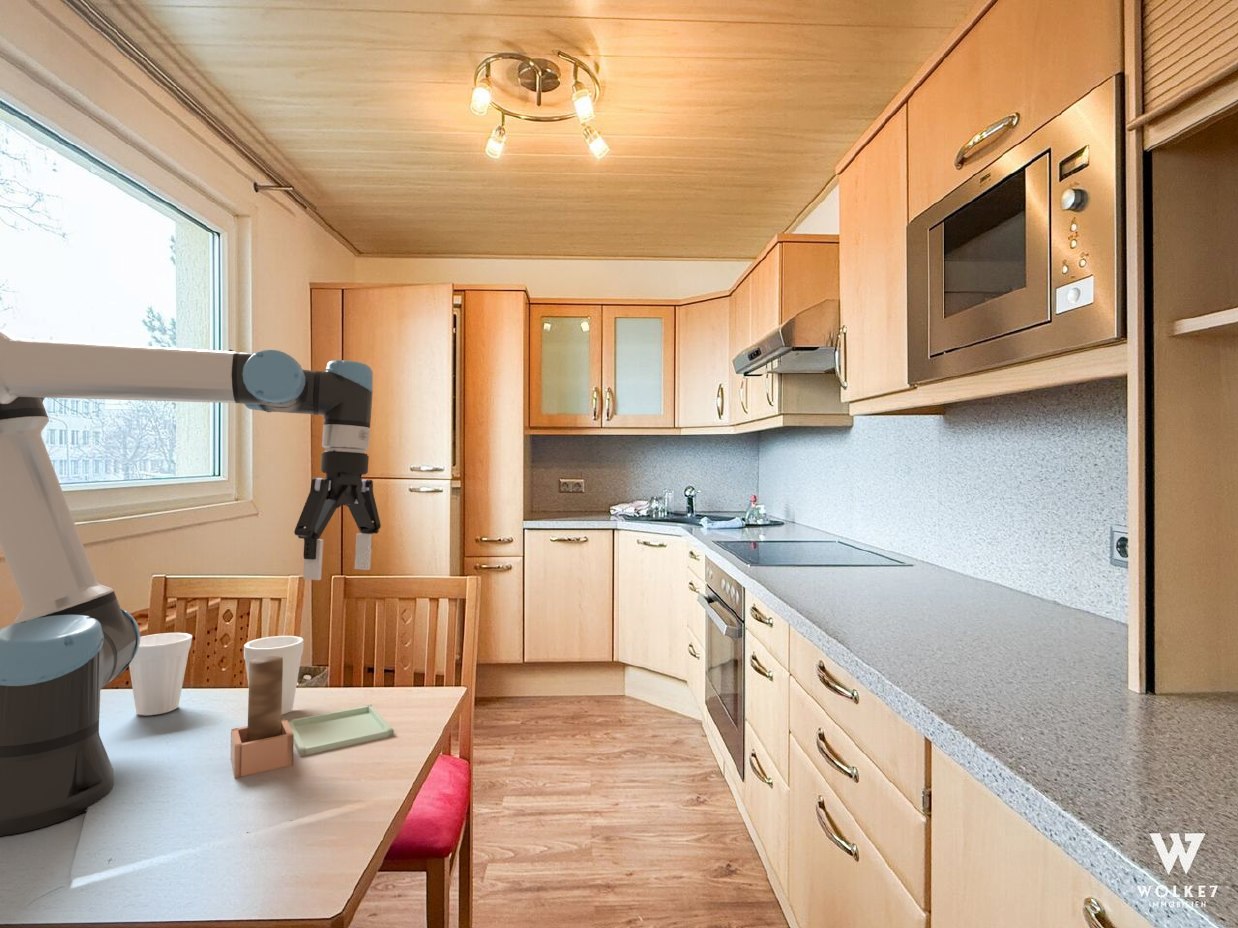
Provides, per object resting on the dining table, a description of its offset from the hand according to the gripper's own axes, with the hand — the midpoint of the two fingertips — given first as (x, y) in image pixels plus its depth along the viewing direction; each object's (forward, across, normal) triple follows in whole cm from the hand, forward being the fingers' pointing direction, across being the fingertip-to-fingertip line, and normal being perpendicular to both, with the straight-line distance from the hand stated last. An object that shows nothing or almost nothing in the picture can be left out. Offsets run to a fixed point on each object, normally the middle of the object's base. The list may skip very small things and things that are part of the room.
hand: (338, 574), depth 109 cm
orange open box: (+27, -14, +1) cm, 30 cm away
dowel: (+26, -14, +1) cm, 30 cm away
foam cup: (+27, +4, +14) cm, 31 cm away
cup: (+28, 0, +36) cm, 45 cm away
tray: (+26, -1, -3) cm, 27 cm away
